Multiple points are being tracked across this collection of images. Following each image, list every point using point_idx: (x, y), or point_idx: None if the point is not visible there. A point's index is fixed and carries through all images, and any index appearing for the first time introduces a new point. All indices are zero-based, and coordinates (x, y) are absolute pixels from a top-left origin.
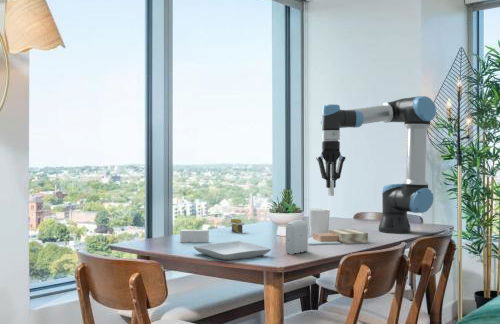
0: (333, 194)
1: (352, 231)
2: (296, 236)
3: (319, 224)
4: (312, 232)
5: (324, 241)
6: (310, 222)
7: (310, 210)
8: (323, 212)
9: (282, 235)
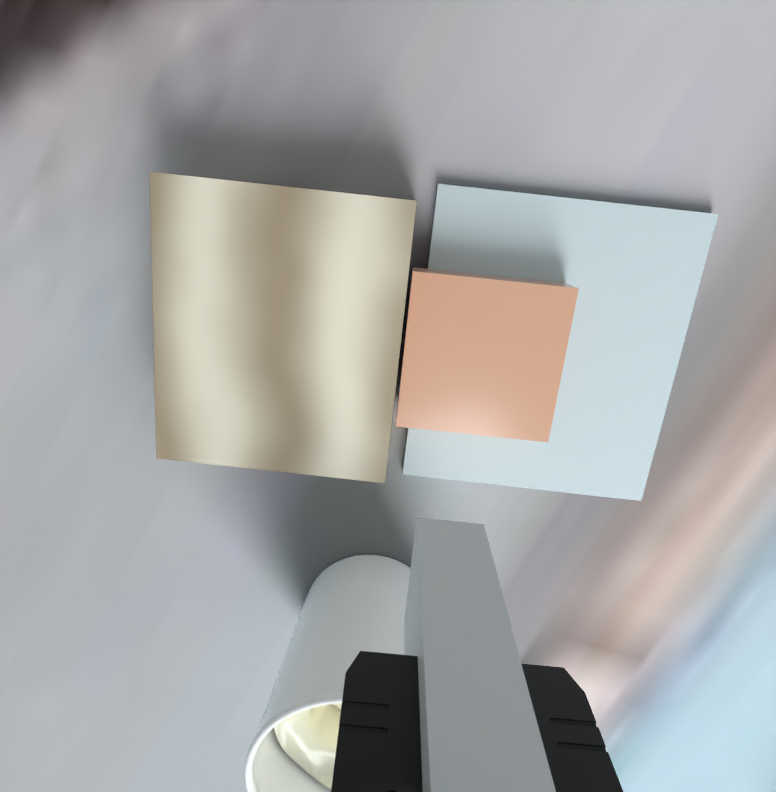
0: (427, 529)
1: (234, 327)
2: None
3: (399, 615)
4: None
5: (531, 279)
6: None
7: None
8: None
9: (608, 683)
